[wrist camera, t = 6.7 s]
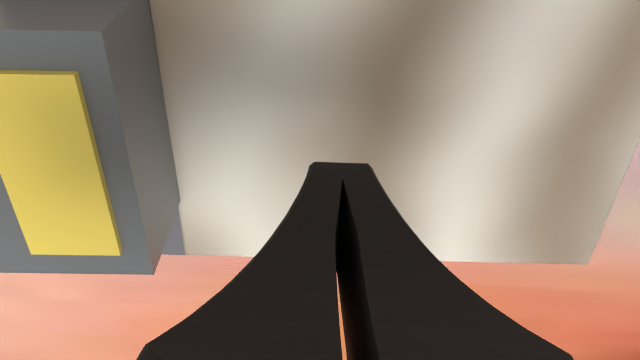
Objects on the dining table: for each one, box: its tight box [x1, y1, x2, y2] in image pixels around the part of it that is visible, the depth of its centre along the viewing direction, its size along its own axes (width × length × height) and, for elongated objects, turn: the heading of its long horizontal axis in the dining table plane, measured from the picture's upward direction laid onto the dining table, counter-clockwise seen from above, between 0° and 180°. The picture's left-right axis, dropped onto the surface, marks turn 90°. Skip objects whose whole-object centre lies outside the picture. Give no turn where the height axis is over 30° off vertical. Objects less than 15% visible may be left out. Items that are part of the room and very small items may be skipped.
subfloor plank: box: [149, 0, 640, 264], centre depth 17 cm, size 24×12×1 cm, turn 88°
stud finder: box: [0, 0, 181, 275], centre depth 15 cm, size 5×7×4 cm
